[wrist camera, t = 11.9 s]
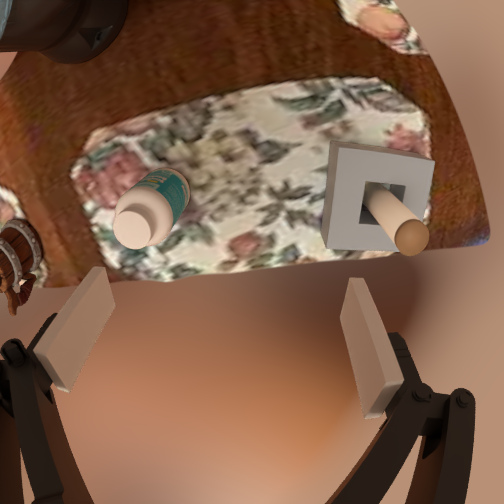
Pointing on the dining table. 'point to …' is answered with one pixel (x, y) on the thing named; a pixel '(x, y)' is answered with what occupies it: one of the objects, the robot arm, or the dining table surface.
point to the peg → (395, 219)
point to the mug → (18, 261)
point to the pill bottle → (151, 208)
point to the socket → (352, 189)
